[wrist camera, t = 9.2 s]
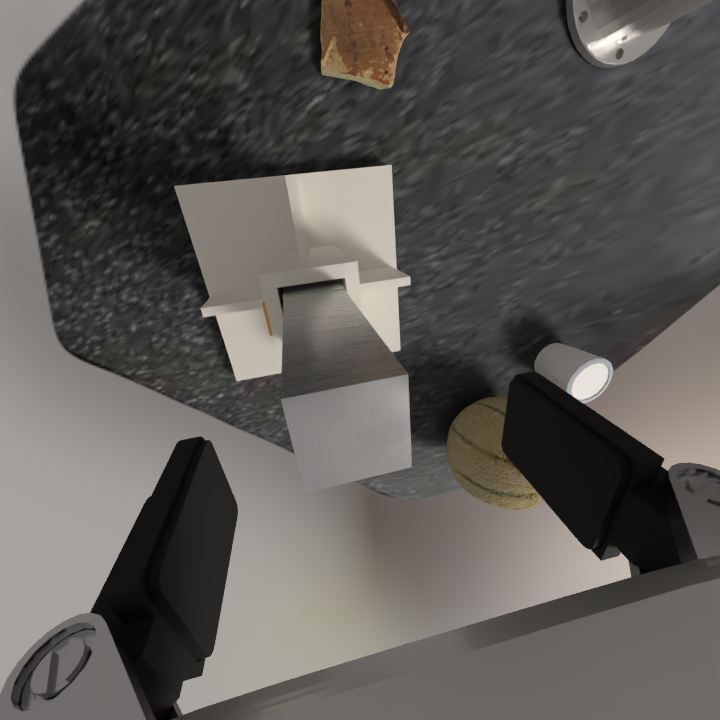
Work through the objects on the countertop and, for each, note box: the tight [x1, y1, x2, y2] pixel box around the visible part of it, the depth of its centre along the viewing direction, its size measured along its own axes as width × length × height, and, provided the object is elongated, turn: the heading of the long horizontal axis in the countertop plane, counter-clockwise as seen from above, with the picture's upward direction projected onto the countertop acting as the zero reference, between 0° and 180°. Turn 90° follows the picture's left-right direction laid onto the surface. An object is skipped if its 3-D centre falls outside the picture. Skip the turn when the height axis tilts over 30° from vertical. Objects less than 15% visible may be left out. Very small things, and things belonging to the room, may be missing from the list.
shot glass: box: [534, 343, 613, 404], centre depth 44 cm, size 7×7×7 cm
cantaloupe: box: [446, 397, 545, 510], centre depth 42 cm, size 15×15×15 cm
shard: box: [320, 0, 410, 89], centre depth 26 cm, size 11×8×2 cm
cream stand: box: [174, 165, 410, 381], centre depth 29 cm, size 20×20×14 cm
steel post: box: [281, 279, 412, 493], centre depth 18 cm, size 4×4×18 cm
